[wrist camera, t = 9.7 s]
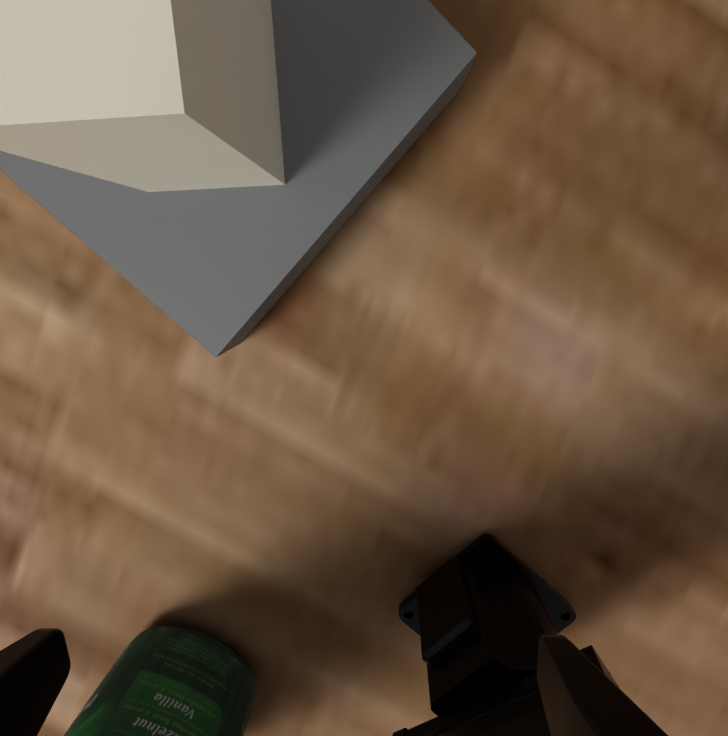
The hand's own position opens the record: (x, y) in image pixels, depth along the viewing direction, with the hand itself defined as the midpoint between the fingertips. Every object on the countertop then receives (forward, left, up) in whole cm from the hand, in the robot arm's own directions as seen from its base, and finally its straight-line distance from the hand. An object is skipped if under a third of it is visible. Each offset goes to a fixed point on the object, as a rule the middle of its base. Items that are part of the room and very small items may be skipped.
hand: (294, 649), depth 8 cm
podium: (+12, -6, -13) cm, 19 cm away
